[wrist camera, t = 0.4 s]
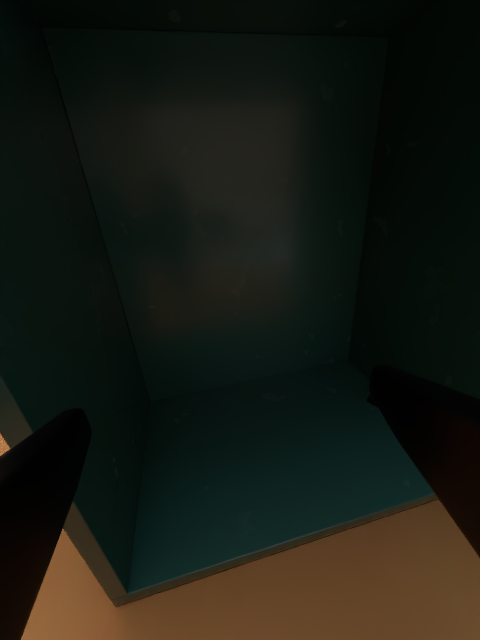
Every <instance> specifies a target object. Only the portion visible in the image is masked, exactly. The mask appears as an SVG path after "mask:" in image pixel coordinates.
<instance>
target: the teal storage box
mask: <svg viewBox="0 0 480 640" xmlns="http://www.w3.org/2000/svg"><path fill="white" fill-rule="evenodd" d="M378 365H389V366H392V367H395V368H397V369H400V370H403V371H405V372H408V373H411V374H413V375H416V376H419V377H421V378H424V379H427V380H429V381H432V382H435V383H437V384H440V385H443V386H445V387H448V388H451V389H453V390H456V391H459V392H461V393H464V394H467V395H469V396H472V397H475V398H477V399H480V0H0V434H1V435H2V437H3V438H4V440H5V441H6V443H7V444H8V446H9V447H10V449H11V448H13V447H14V446H15V445H17V444H18V443H20V442H21V441H22V440H24V439H25V438H27V437H28V436H30V435H31V434H32V433H34V432H35V431H37V430H38V429H39V428H41V427H42V426H44V425H45V424H46V423H48V422H49V421H51V420H52V419H54V418H55V417H56V416H58V415H59V414H61V413H62V412H63V411H65V410H68V409H74V408H82V409H83V410H84V412H85V414H86V417H87V419H88V421H89V424H90V426H91V430H92V435H91V440H90V443H89V447H88V451H87V455H86V458H85V462H84V466H83V470H82V473H81V477H80V481H79V484H78V488H77V491H76V494H75V496H74V499H73V502H72V505H71V507H70V510H69V513H68V515H67V518H66V521H65V523H64V526H63V529H64V530H65V532H66V533H67V535H68V536H69V538H70V539H71V541H72V542H73V544H74V545H75V547H76V549H77V550H78V552H79V553H80V555H81V556H82V558H83V559H84V561H85V562H86V564H87V565H88V567H89V568H90V570H91V571H92V573H93V574H94V576H95V577H96V579H97V580H98V582H99V583H100V585H101V586H102V588H103V589H104V591H105V592H106V594H107V595H108V597H109V598H110V600H111V601H112V602H113V604H114V605H115V607H117V606H120V605H123V604H126V603H129V602H132V601H135V600H138V599H141V598H143V597H146V596H149V595H152V594H155V593H158V592H161V591H164V590H167V589H170V588H173V587H176V586H179V585H182V584H185V583H188V582H191V581H194V580H197V579H200V578H203V577H206V576H209V575H212V574H215V573H218V572H221V571H224V570H227V569H230V568H233V567H236V566H239V565H242V564H245V563H248V562H251V561H254V560H257V559H260V558H263V557H266V556H269V555H272V554H275V553H278V552H281V551H284V550H287V549H290V548H293V547H296V546H299V545H302V544H305V543H308V542H311V541H314V540H317V539H320V538H323V537H326V536H329V535H332V534H335V533H338V532H341V531H344V530H347V529H350V528H353V527H356V526H359V525H362V524H365V523H368V522H371V521H374V520H377V519H380V518H383V517H385V516H388V515H391V514H394V513H397V512H400V511H403V510H406V509H409V508H412V507H415V506H418V505H421V504H424V503H427V502H430V501H433V500H436V499H438V497H437V496H436V495H435V493H434V492H433V490H432V489H431V487H430V486H429V485H428V483H427V482H426V480H425V479H424V477H423V476H422V475H421V473H420V472H419V470H418V469H417V467H416V466H415V465H414V463H413V462H412V460H411V459H410V457H409V456H408V455H407V453H406V452H405V450H404V449H403V448H402V446H401V445H400V443H399V442H398V440H397V439H396V437H395V436H394V434H393V432H392V431H391V429H390V427H389V425H388V424H387V422H386V420H385V418H384V417H383V415H382V413H381V411H380V410H379V408H377V407H376V406H374V405H372V404H370V403H369V402H367V398H368V396H369V395H370V394H371V393H370V390H369V385H370V378H371V372H372V368H373V367H374V366H378Z"/></svg>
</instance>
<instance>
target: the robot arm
mask: <svg viewBox="0 0 480 640" xmlns="http://www.w3.org/2000/svg"><path fill="white" fill-rule="evenodd" d="M369 390H370V393H371V395H372V397H373V399H374V401H375V402H376V404H377V406H378V408H379V410H380V411H381V413H382V415H383V417H384V418H385V420H386V422H387V424H388V425H389V427H390V429H391V431H392V432H393V434H394V436H395V437H396V439H397V440H398V442H399V443H400V445H401V446H402V448H403V449H404V450H405V452H406V453H407V455H408V456H409V457H410V459H411V460H412V462H413V463H414V465H415V466H416V467H417V469H418V470H419V472H420V473H421V475H422V476H423V477H424V479H425V480H426V482H427V483H428V485H429V486H430V487H431V489H432V490H433V492H434V493H435V495H436V496H437V497H438V499H439V500H440V502H441V503H442V505H443V506H444V507H445V509H446V510H447V512H448V513H449V515H450V516H451V517H452V519H453V520H454V522H455V523H456V525H457V526H458V527H459V529H460V530H461V532H462V533H463V534H464V536H465V537H466V539H467V540H468V542H469V543H470V544H471V546H472V547H473V549H474V550H475V552H476V553H477V554H478V556H479V557H480V399H477V398H475V397H472V396H469V395H467V394H464V393H461V392H459V391H456V390H453V389H451V388H448V387H445V386H443V385H440V384H437V383H435V382H432V381H429V380H427V379H424V378H421V377H419V376H416V375H413V374H411V373H408V372H405V371H403V370H400V369H397V368H395V367H392V366H389V365H378V366H374V367H373V368H372V372H371V378H370V385H369ZM91 435H92V430H91V426H90V424H89V421H88V419H87V417H86V414H85V412H84V410H83V409H82V408H74V409H68V410H65V411H63V412H62V413H61V414H59V415H58V416H56V417H55V418H54V419H52V420H51V421H49V422H48V423H46V424H45V425H44V426H42V427H41V428H39V429H38V430H37V431H35V432H34V433H32V434H31V435H30V436H28V437H27V438H25V439H24V440H22V441H21V442H20V443H18V444H17V445H15V446H14V447H13V448H11V449H10V450H8V451H7V452H6V453H4V454H3V455H1V456H0V640H21V637H22V635H23V632H24V629H25V627H26V624H27V621H28V619H29V616H30V613H31V611H32V608H33V606H34V603H35V600H36V598H37V595H38V592H39V590H40V587H41V584H42V582H43V579H44V576H45V574H46V571H47V568H48V566H49V563H50V560H51V558H52V555H53V552H54V550H55V547H56V544H57V542H58V539H59V536H60V534H61V531H62V528H63V526H64V523H65V521H66V518H67V515H68V513H69V510H70V507H71V505H72V502H73V499H74V496H75V494H76V491H77V488H78V484H79V481H80V477H81V473H82V470H83V466H84V462H85V458H86V455H87V451H88V447H89V443H90V440H91Z"/></svg>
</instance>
